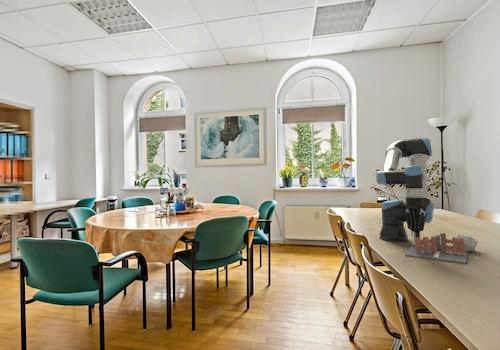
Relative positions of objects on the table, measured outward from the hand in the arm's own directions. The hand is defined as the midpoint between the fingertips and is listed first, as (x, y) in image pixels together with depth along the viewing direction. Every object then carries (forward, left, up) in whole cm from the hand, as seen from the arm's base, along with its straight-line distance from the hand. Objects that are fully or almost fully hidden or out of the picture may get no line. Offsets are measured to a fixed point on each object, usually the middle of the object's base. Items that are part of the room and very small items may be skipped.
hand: (416, 244), depth 135 cm
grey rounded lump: (-16, +19, -4) cm, 26 cm away
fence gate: (-1, +5, -3) cm, 6 cm away
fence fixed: (-6, +14, -3) cm, 16 cm away
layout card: (-1, +8, -4) cm, 9 cm away
